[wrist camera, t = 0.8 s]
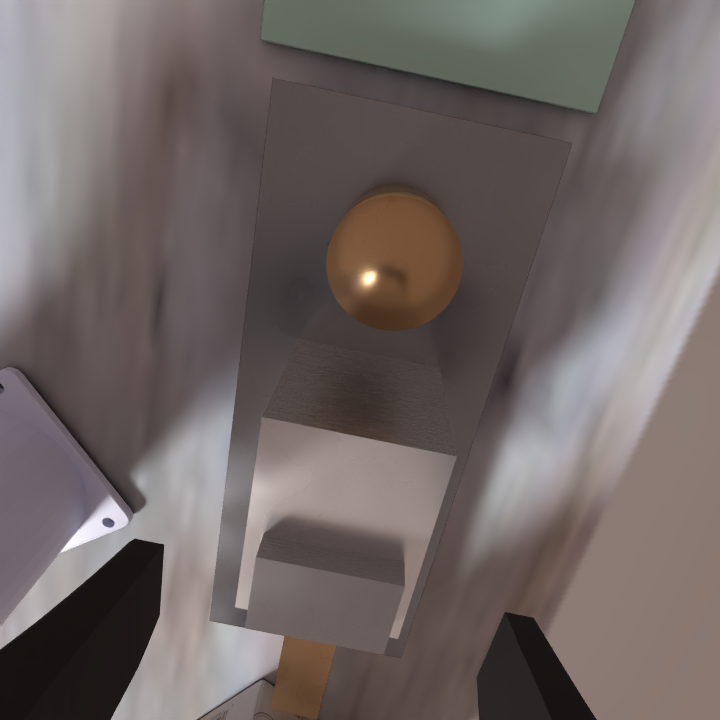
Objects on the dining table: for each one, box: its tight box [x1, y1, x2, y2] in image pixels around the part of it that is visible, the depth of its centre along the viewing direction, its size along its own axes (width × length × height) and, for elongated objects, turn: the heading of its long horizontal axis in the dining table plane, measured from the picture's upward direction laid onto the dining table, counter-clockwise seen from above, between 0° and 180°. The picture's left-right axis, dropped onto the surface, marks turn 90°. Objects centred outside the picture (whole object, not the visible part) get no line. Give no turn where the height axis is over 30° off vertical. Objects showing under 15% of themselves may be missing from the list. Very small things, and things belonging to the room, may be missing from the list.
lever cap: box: [235, 339, 457, 655], centre depth 15 cm, size 6×4×6 cm
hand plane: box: [210, 78, 572, 719], centre depth 17 cm, size 20×8×6 cm, turn 169°
